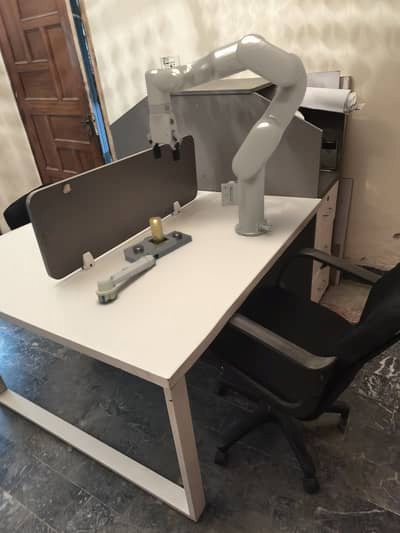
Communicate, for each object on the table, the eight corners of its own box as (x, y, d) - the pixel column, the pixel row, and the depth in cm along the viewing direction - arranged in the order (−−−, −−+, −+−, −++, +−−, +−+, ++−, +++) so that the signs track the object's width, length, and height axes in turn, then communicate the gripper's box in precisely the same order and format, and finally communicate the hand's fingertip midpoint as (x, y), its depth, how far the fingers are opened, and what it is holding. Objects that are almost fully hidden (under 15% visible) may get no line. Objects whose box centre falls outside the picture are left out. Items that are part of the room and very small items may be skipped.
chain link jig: (175, 235, 142) (173, 223, 139) (192, 240, 136) (190, 228, 134) (125, 260, 127) (122, 247, 125) (141, 267, 121) (139, 254, 119)
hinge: (221, 206, 165) (220, 184, 160) (224, 202, 169) (222, 180, 164) (252, 206, 161) (252, 184, 156) (254, 202, 166) (253, 180, 161)
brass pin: (167, 249, 132) (163, 218, 126) (159, 253, 129) (154, 222, 123) (160, 246, 134) (155, 216, 128) (152, 250, 132) (147, 219, 126)
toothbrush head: (156, 254, 120) (102, 280, 100) (159, 273, 122) (106, 303, 102) (144, 253, 123) (88, 278, 103) (146, 271, 125) (93, 300, 105)
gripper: (186, 107, 124) (191, 158, 133) (151, 107, 134) (158, 155, 143) (170, 111, 119) (177, 164, 128) (136, 111, 130) (144, 159, 138)
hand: (167, 159), depth 135 cm, fingers open, 9 cm apart
